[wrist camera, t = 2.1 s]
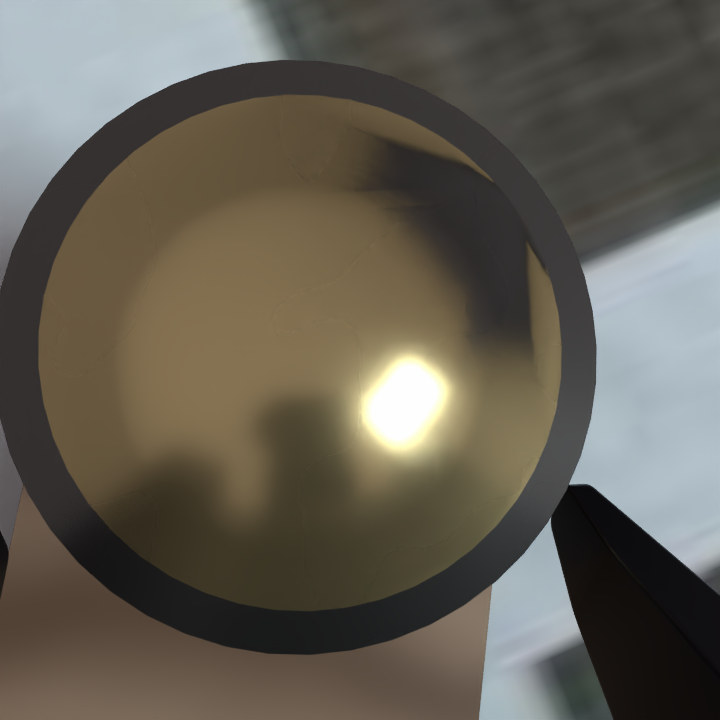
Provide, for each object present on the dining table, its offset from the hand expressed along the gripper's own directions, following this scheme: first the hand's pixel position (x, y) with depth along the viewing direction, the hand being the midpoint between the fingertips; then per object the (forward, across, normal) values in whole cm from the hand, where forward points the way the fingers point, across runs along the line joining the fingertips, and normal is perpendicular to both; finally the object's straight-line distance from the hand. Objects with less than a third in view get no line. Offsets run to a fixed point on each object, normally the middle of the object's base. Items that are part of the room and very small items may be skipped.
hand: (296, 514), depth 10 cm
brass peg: (+7, 0, +5) cm, 9 cm away
